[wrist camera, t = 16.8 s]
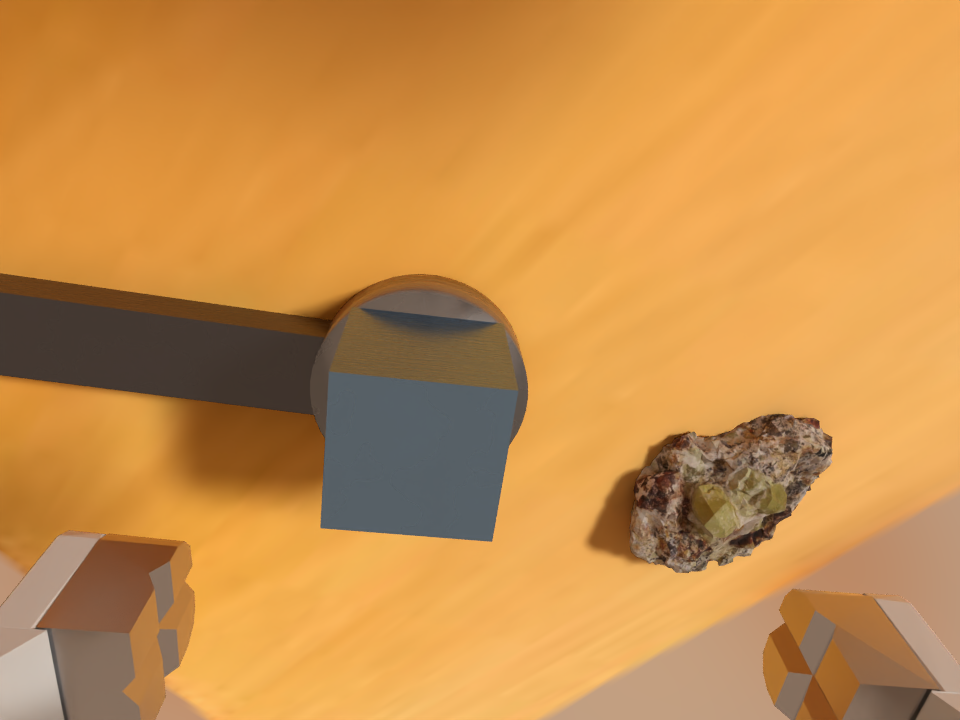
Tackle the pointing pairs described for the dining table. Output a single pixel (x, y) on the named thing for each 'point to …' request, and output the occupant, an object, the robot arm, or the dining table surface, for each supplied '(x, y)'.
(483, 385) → the slate grey cube
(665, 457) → the mineral rock
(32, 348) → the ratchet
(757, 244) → the dining table surface
